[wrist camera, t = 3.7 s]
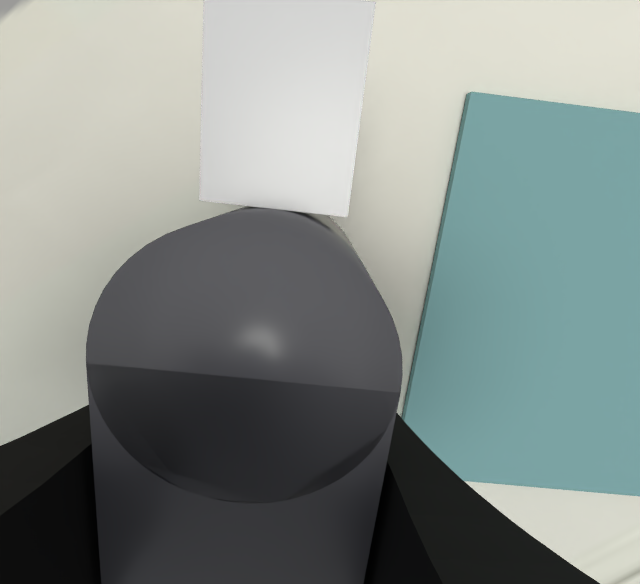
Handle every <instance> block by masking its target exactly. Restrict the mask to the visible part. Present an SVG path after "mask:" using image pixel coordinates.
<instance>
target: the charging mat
mask: <svg viewBox="0 0 640 584" xmlns="http://www.w3.org/2000/svg"><path fill="white" fill-rule="evenodd" d="M402 419H403V421H404V422H405V423H406V424H407V425H408V426H409V427H410V428H411V429H412V430H413V432H414V433H415V434H416V435H417V436H418V437H419V438H420V439H421V440H422V441H423V442H424V443H425V444H426V445H427V446H428V447H429V448H430V449H431V450H432V451H433V452H434V453H435V454H436V455H437V456H438V457H439V458H440V459H441V460H442V461H443V462H444V463H445V464H446V465H447V466H448V467H449V468H450V469H451V470H452V471H453V472H454V473H455V474H457V475H458V476H459V477H460V478H461V479H462V480H463V481H472V482H483V483H494V484H506V485H517V486H529V487H540V488H551V489H563V490H574V491H585V492H597V493H608V494H619V495H631V496H640V113H635V112H627V111H619V110H611V109H603V108H595V107H588V106H580V105H572V104H564V103H556V102H548V101H540V100H533V99H525V98H517V97H509V96H501V95H493V94H485V93H478V92H470V93H468V94H467V96H466V101H465V106H464V111H463V116H462V121H461V126H460V131H459V136H458V141H457V146H456V151H455V156H454V161H453V165H452V170H451V175H450V180H449V185H448V190H447V195H446V200H445V205H444V210H443V215H442V220H441V225H440V230H439V235H438V240H437V245H436V250H435V255H434V260H433V265H432V270H431V275H430V280H429V285H428V290H427V295H426V300H425V305H424V310H423V315H422V320H421V325H420V330H419V335H418V340H417V345H416V350H415V355H414V360H413V365H412V370H411V375H410V380H409V385H408V390H407V395H406V400H405V405H404V410H403V415H402Z"/></svg>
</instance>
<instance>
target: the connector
mask: <svg viewBox="0 0 640 584" xmlns="http://www.w3.org/2000/svg"><path fill="white" fill-rule="evenodd" d="M375 4H376V2H373V1H366V0H204V8H203V55H202V101H201V148H200V195H199V201H208V202H217V203H226V204H235V205H243V206H246V207H243V208H240V209H237V210H234V211H231V212H228V213H225V214H222V215H219V216H216V217H213V218H210V219H207V220H204V221H201V222H198V223H195V224H192V225H189V226H186V227H184V228H181V229H178V230H176V231H173V232H170V233H168V234H165V235H164V236H162V237H160V238H158V239H156V240H155V241H153V242H151V243H149V244H147V245H146V246H145V247H143V248H142V249H141V250H139V251H138V252H137V253H135V254H134V255H133V256H132V257H130V258H129V259H128V260H127V261H126V262H125V263H124V264H123V265H122V266H121V267H120V269H119V270H118V271H117V272H116V273H115V274H114V276H113V277H112V278H111V280H110V281H109V283H108V284H107V285H106V287H105V288H104V290H103V292H102V294H101V296H100V298H99V300H98V302H97V304H96V306H95V309H94V312H93V315H92V318H91V321H90V324H89V330H88V336H87V343H86V368H87V382H88V397H89V411H90V426H91V441H92V455H93V470H94V484H95V499H96V514H97V528H98V543H99V557H100V572H101V584H363V583H364V578H365V572H366V567H367V562H368V557H369V552H370V547H371V542H372V536H373V531H374V526H375V521H376V516H377V511H378V505H379V500H380V495H381V490H382V485H383V480H384V474H385V469H386V464H387V459H388V454H389V449H390V443H391V438H392V433H393V428H394V423H395V418H396V412H397V407H398V402H399V397H400V391H401V383H402V353H401V348H400V342H399V337H398V334H397V330H396V327H395V324H394V321H393V318H392V316H391V314H390V312H389V310H388V308H387V306H386V304H385V302H384V300H383V298H382V297H381V295H380V293H379V291H378V290H377V288H376V286H375V284H374V283H373V281H372V279H371V277H370V276H369V274H368V272H367V270H366V269H365V267H364V265H363V263H362V262H361V260H360V258H359V256H358V255H357V253H356V251H355V249H354V248H353V246H352V244H351V242H350V241H349V239H348V238H347V236H346V235H345V233H344V232H343V230H342V229H341V228H340V227H339V226H338V225H337V224H336V223H335V222H334V221H333V220H332V219H331V218H329V217H328V216H327V215H332V216H341V217H348V211H349V204H350V196H351V188H352V181H353V173H354V165H355V158H356V150H357V142H358V135H359V127H360V119H361V112H362V104H363V96H364V89H365V81H366V73H367V66H368V58H369V50H370V43H371V35H372V27H373V20H374V12H375Z"/></svg>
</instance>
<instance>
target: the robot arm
mask: <svg viewBox="0 0 640 584" xmlns="http://www.w3.org/2000/svg"><path fill="white" fill-rule="evenodd" d="M0 584H101V572H100V557H99V543H98V528H97V514H96V499H95V484H94V470H93V455H92V441H91V426H90V411H89V405H87V406H85V407H83V408H81V409H79V410H77V411H75V412H73V413H71V414H69V415H67V416H65V417H63V418H60V419H58V420H56V421H54V422H52V423H50V424H48V425H46V426H44V427H41V428H39V429H37V430H35V431H33V432H31V433H29V434H27V435H25V436H22V437H20V438H18V439H16V440H13V441H11V442H9V443H6V444H4V445H2V446H0ZM363 584H600V583H598V582H597V581H595V580H594V579H592V578H591V577H589V576H588V575H586V574H585V573H583V572H582V571H580V570H579V569H577V568H576V567H574V566H573V565H571V564H570V563H569V562H567V561H566V560H564V559H563V558H562V557H560V556H559V555H557V554H556V553H555V552H553V551H552V550H550V549H549V548H547V547H546V546H545V545H543V544H542V543H540V542H539V541H538V540H536V539H535V538H533V537H532V536H531V535H529V534H528V533H527V532H525V531H524V530H523V529H521V528H520V527H519V526H517V525H516V524H515V523H514V522H512V521H511V520H510V519H508V518H507V517H506V516H505V515H503V514H502V513H501V512H500V511H499V510H497V509H496V508H495V507H494V506H492V505H491V504H490V503H489V502H488V501H486V500H485V499H484V498H483V497H481V496H480V495H479V494H478V493H477V492H475V491H474V490H473V489H472V488H471V487H470V486H469V485H467V484H466V483H465V482H464V481H463V480H462V479H461V478H460V477H459V476H458V475H457V474H455V473H454V472H453V471H452V470H451V469H450V468H449V467H448V466H447V465H446V464H445V463H444V462H443V461H442V460H441V459H440V458H439V457H438V456H437V455H436V454H435V453H434V452H433V451H432V450H431V449H430V448H429V447H428V446H427V445H426V444H425V443H424V442H423V441H422V440H421V439H420V438H419V437H418V436H417V435H416V434H415V433H414V432H413V430H412V429H411V428H410V427H409V426H408V425H407V424H406V423H405V422H404V421H403V419H402V418H401V417H400V416H399V415H398V414H397V413H396V418H395V423H394V428H393V433H392V438H391V443H390V449H389V454H388V459H387V464H386V469H385V474H384V480H383V485H382V490H381V495H380V500H379V505H378V511H377V516H376V521H375V526H374V531H373V536H372V542H371V547H370V552H369V557H368V562H367V567H366V572H365V578H364V583H363Z"/></svg>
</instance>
